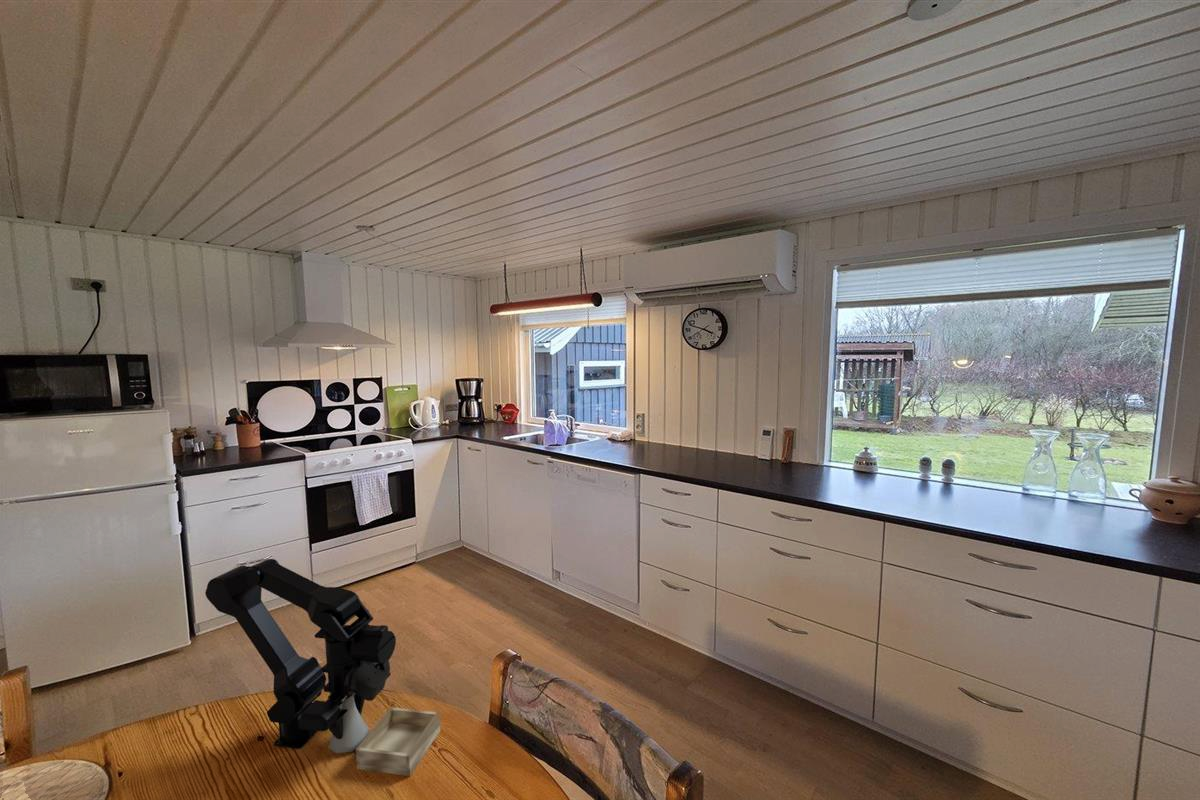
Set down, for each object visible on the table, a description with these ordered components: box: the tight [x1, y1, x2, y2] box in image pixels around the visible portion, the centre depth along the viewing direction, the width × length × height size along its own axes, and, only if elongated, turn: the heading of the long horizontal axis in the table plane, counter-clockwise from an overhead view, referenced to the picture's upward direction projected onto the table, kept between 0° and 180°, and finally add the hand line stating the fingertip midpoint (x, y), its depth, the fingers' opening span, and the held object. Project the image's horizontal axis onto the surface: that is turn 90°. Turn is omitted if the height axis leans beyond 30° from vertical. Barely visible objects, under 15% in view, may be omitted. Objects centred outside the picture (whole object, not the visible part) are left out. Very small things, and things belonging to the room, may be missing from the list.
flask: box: [327, 691, 371, 754], centre depth 98 cm, size 7×7×10 cm
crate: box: [355, 706, 441, 777], centre depth 96 cm, size 11×11×4 cm
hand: (348, 728), depth 98 cm, fingers closed on flask, 5 cm apart
